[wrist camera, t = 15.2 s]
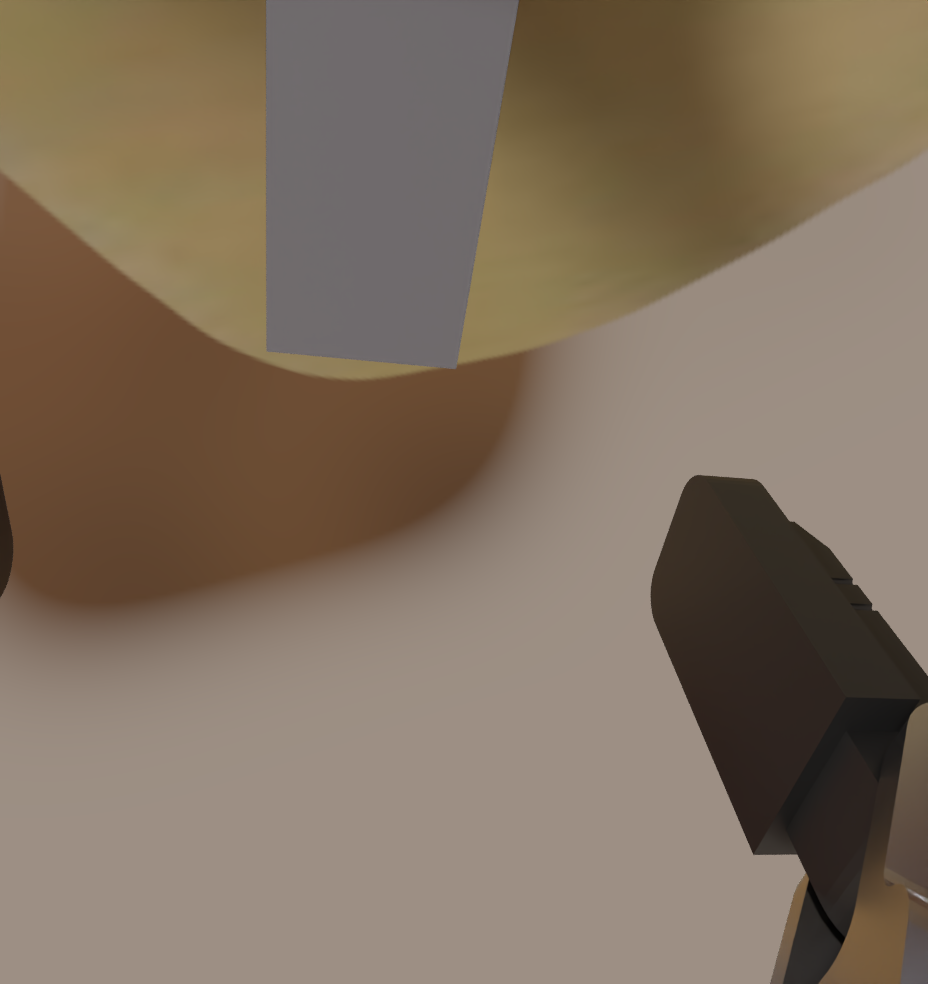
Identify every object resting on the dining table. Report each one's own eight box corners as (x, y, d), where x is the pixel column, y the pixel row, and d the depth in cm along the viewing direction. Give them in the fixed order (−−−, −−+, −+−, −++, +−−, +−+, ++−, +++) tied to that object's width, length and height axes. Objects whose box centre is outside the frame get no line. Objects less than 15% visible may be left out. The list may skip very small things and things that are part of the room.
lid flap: (-186, -293, 10) (-21, 349, 15) (891, -77, 12) (694, 412, 17) (162, -221, 25) (181, 85, 30) (603, -133, 27) (547, 137, 33)
